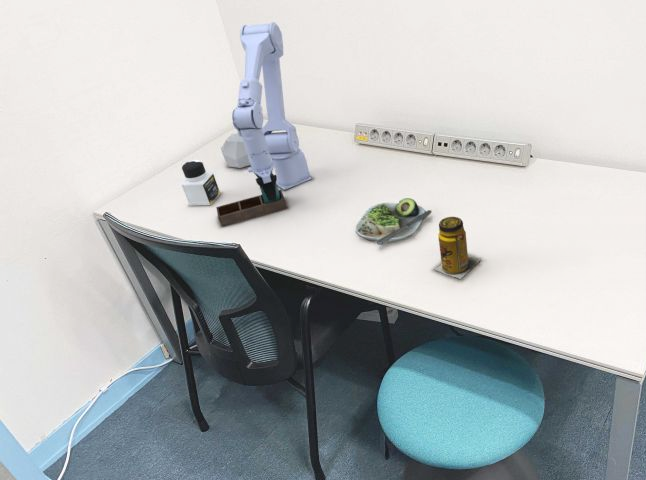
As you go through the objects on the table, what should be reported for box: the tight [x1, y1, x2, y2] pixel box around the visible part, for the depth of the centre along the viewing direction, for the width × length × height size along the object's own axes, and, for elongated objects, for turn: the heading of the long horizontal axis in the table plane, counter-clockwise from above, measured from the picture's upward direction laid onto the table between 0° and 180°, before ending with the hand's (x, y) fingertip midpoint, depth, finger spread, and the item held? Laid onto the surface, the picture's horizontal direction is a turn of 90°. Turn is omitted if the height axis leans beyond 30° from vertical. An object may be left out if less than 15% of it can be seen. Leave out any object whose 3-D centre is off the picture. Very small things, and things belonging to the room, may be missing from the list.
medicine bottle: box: [181, 159, 221, 207], centre depth 178 cm, size 7×7×12 cm
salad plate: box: [355, 197, 432, 246], centre depth 153 cm, size 19×18×5 cm
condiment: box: [433, 216, 482, 280], centre depth 135 cm, size 7×8×12 cm
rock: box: [220, 132, 251, 169], centre depth 199 cm, size 18×20×10 cm
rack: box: [215, 189, 288, 228], centre depth 171 cm, size 19×7×3 cm, turn 108°
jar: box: [257, 172, 281, 204], centre depth 169 cm, size 5×5×8 cm
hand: (271, 195), depth 171 cm, fingers closed on jar, 5 cm apart
